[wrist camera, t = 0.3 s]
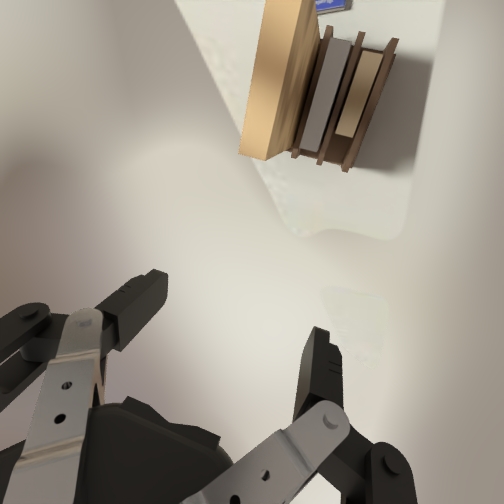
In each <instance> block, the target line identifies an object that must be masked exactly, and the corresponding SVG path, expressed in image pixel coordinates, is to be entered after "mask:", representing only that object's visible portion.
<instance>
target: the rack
mask: <svg viewBox="0 0 504 504" xmlns="http://www.w3.org/2000/svg"><path fill="white" fill-rule="evenodd" d="M365 33H366V32H361V31H359V33H358V36H357V39H356V42H355V45H354V46H353V45H351V46H350V50H349V55H348V59H347V63H346V66H345V69H344V72H343V76H342V79H341V82H340V85H339V88H338V91H337V94H336V97H335V101H334V104H333V107H332V110H331V113H330V116H329V119H328V123H327V126H326V129H325V132H324V135H323V138H322V141H321V145H320V147H319V149H318V151H317V152H314V151H310V150H306V149H302V148H299V147H300V143H301V140H302V136H303V133H304V129H305V126H306V122H307V119H308V115H309V112H310V108H311V105H312V101H313V98H314V94H315V91H316V87H317V83H318V80H319V76H320V73H321V69H322V66H323V62H324V59H325V55H326V52H327V48H328V45H329V41H330V38H333V26H329V25H327V27H326V30H325V34H324V38H323V39H320V40H321V49H320V52H319V56H318V60H317V63H316V67H315V70H314V74H313V78H312V81H311V85H310V89H309V92H308V96H307V100H306V103H305V107H304V111H303V114H302V118H301V122H300V125H299V129H298V133H297V136H296V140H295V144H294V146H293V147H291V148H289V149H287V150H285V151H288V152H292V155H291V158H295V159H296V158H297V157H298V156H299V155H303V156H307V157H311V158H315V159H318V160H317V163H316V164H317V165H322V162H323V161H326V162H330V163H334V164H337V165H341V168H342V171H343V172H347V173H348V170H349V168H352V166H353V164H354V161H355V159H356V156H357V154H358V151H359V148H360V146H361V143H362V141H363V138H364V136H365V133H366V131H367V128H368V125H369V123H370V120H371V118H372V115H373V113H374V110H375V107H376V105H377V102H378V100H379V97H380V95H381V92H382V90H383V87H384V84H385V82H386V79H387V77H388V74H389V72H390V69H391V66H392V64H393V61H394V59H395V56H396V54H394V51H395V48H396V46H397V43H398V41H399V39H397V38H392V39H391V40H390V42H389V43H388V45H387V46H386V48H385V49H384V51H378V50H373V49H368V48H363V47H361V45H362V42H363V39H364V36H365ZM363 51H368V52H373V53H378V54H383V57H382V60H381V62H380V65H379V68H378V70H377V73H376V76H375V78H374V81H373V84H372V87H371V89H370V92H369V95H368V97H367V100H366V103H365V105H364V108H363V111H362V114H361V116H360V119H359V122H358V124H357V127H356V130H355V132H354V135H353V138H352V137H348V136H344V135H340V134H336V133H335V130H336V127H337V124H338V121H339V118H340V115H341V112H342V109H343V106H344V103H345V100H346V97H347V94H348V91H349V88H350V85H351V82H352V79H353V76H354V73H355V70H356V67H357V65H358V62H359V60H360V57H361V55H362V52H363Z"/></svg>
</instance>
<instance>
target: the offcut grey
mask: <svg viewBox="0 0 504 504" xmlns="http://www.w3.org/2000/svg"><path fill="white" fill-rule="evenodd" d="M350 46H351V41H346V40H341V39H336V38H330V41H329V45H328V48H327V52H326V55H325V59H324V62H323V66H322V69H321V73H320V76H319V80H318V83H317V87H316V91H315V94H314V98H313V101H312V105H311V108H310V112H309V115H308V119H307V122H306V126H305V129H304V133H303V136H302V140H301V143H300V147H299V148H302V149H306V150H310V151H314V152H317V151H318V149H319V147H320V145H321V141H322V138H323V135H324V132H325V129H326V126H327V123H328V119H329V116H330V113H331V110H332V107H333V104H334V101H335V97H336V94H337V91H338V88H339V85H340V82H341V79H342V76H343V72H344V69H345V66H346V63H347V59H348V55H349V50H350Z"/></svg>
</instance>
